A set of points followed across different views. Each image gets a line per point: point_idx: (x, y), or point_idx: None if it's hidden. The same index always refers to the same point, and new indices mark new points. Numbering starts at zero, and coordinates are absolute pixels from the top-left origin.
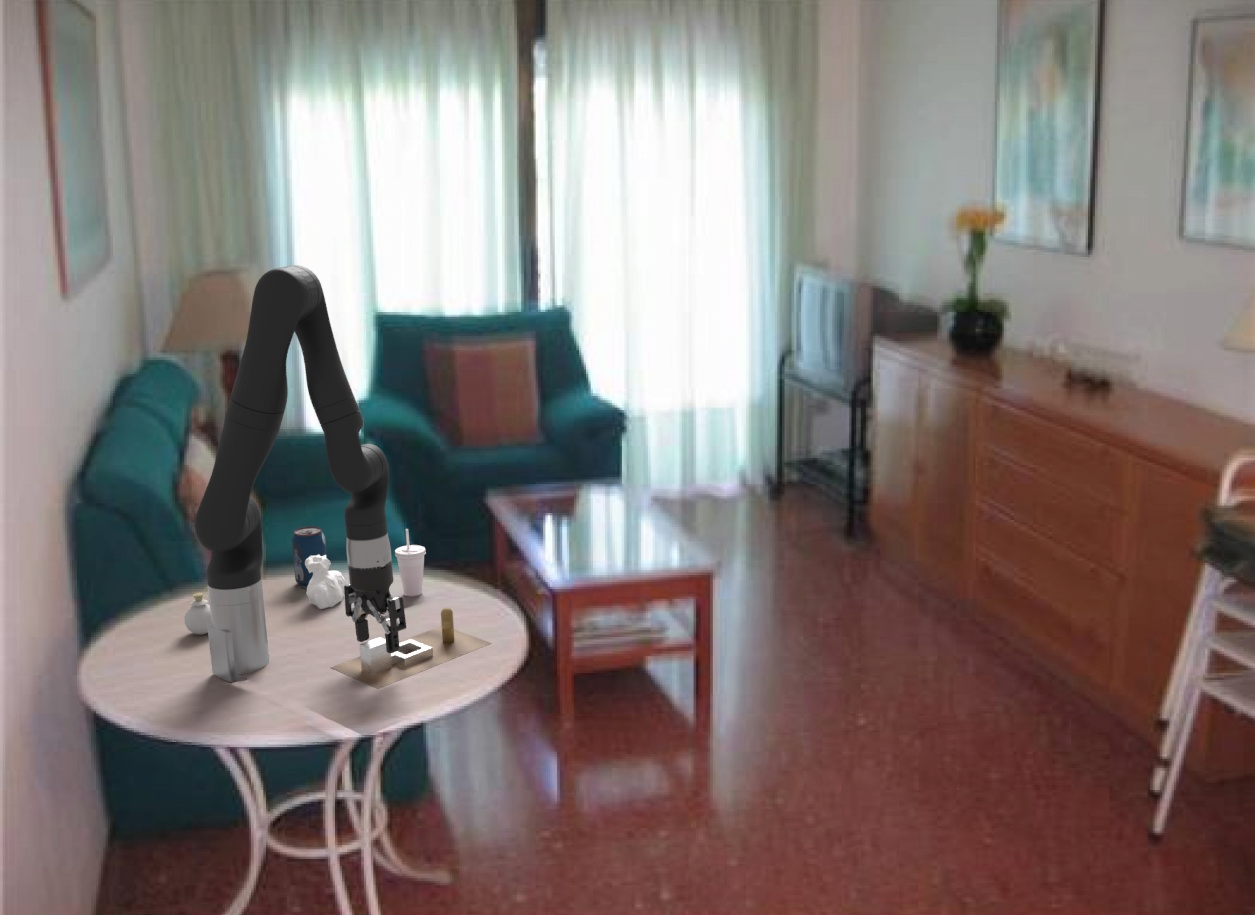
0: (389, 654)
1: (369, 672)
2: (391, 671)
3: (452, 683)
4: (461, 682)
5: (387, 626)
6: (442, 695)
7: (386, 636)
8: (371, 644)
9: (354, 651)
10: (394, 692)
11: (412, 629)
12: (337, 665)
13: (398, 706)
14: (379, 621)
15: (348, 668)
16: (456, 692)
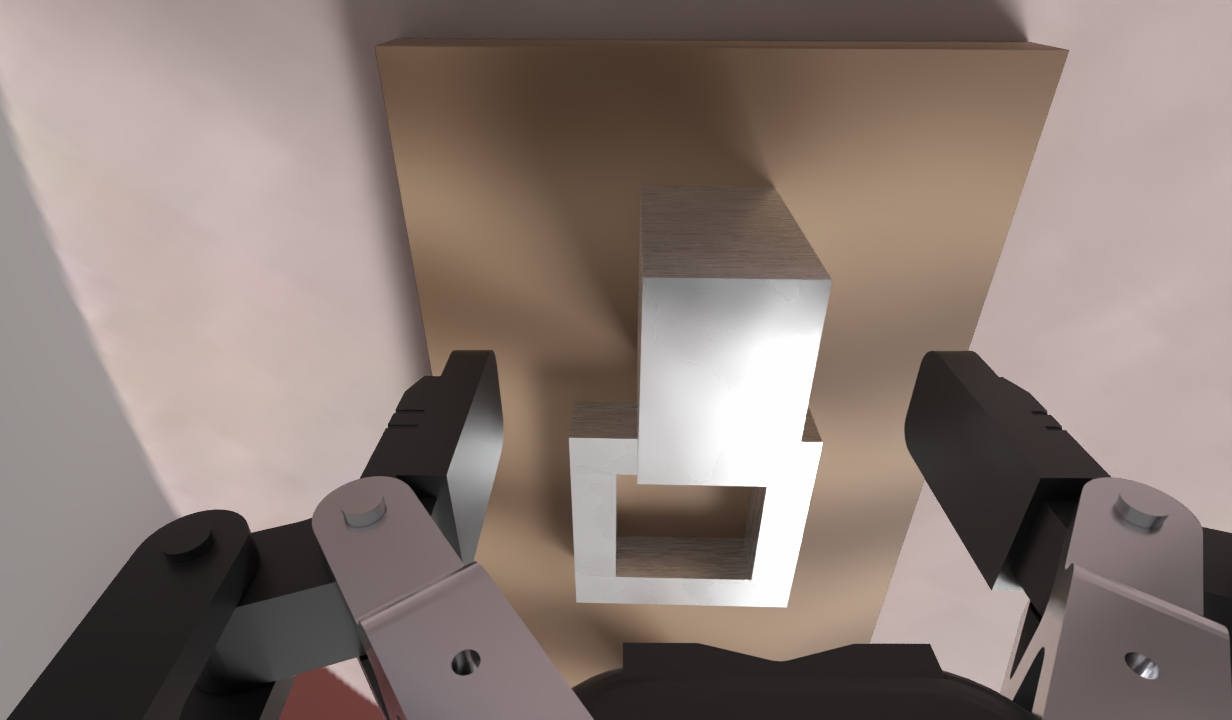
0: (637, 397)
1: (670, 189)
2: (581, 310)
3: (290, 443)
4: (273, 473)
5: (328, 564)
6: (165, 324)
7: (427, 452)
8: (717, 349)
9: (1122, 394)
10: (392, 167)
11: (987, 674)
12: (1033, 122)
13: (145, 29)
14: (433, 588)
15: (901, 144)
16: (163, 391)
